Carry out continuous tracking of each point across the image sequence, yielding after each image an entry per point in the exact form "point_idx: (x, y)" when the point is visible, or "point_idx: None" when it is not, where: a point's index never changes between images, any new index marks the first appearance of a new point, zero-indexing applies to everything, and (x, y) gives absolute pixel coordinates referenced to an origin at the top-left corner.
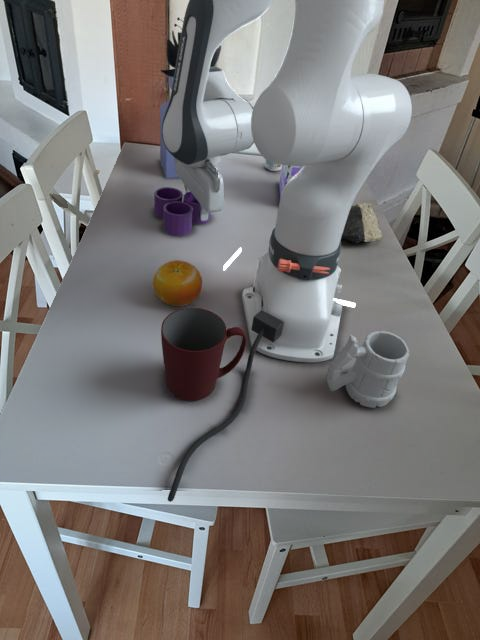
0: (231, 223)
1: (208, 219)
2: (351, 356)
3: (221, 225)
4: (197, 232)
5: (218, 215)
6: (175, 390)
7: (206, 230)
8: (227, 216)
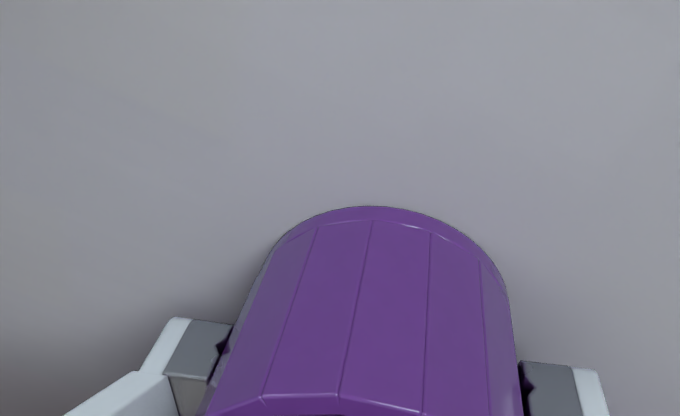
0: (669, 44)
1: (488, 267)
2: None
3: (635, 179)
4: (614, 394)
5: (413, 108)
6: None
7: (630, 333)
8: (479, 10)
